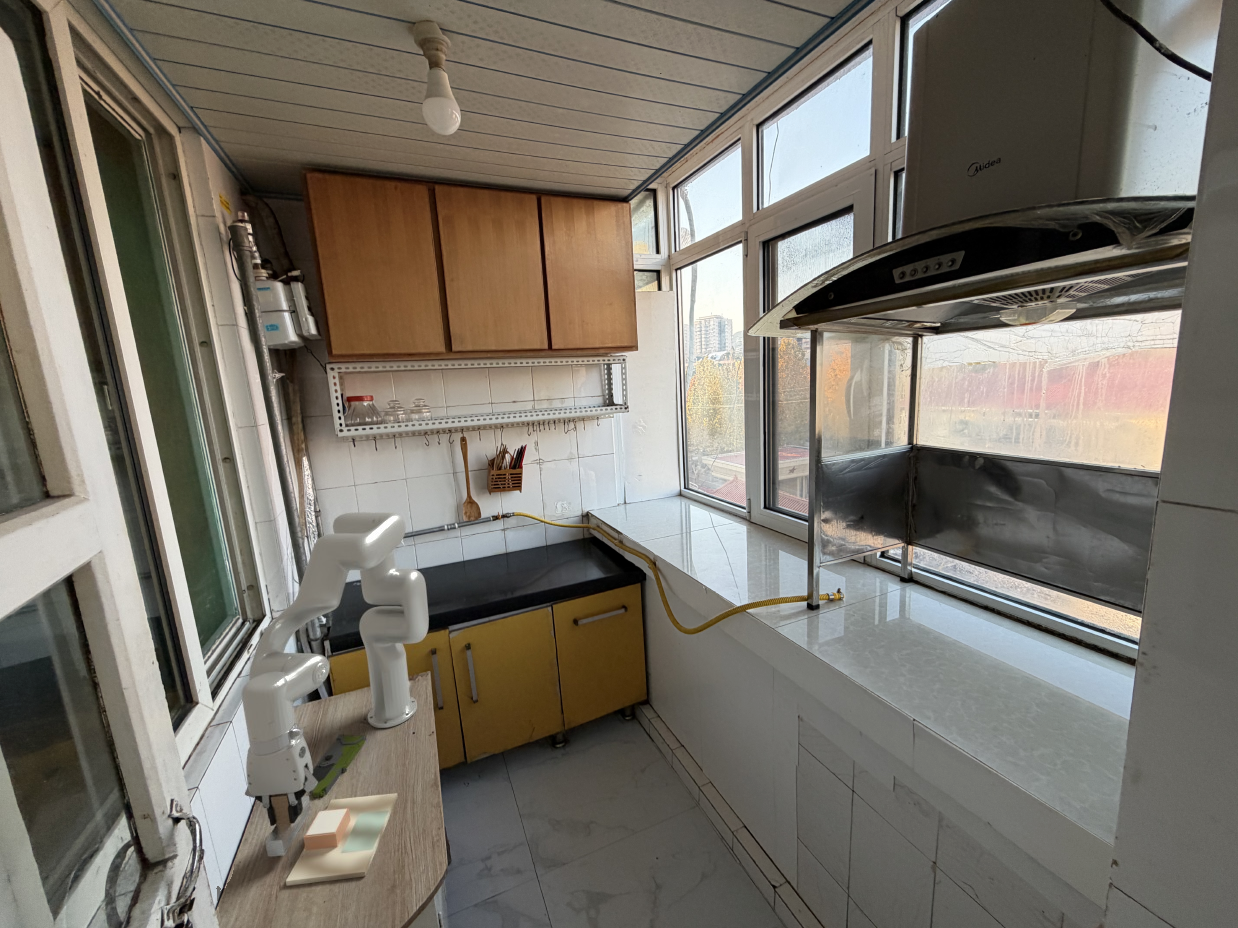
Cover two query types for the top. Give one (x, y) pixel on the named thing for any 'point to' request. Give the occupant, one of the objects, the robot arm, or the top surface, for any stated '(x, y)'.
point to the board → (347, 842)
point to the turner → (284, 824)
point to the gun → (336, 762)
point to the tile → (327, 829)
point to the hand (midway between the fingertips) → (286, 817)
